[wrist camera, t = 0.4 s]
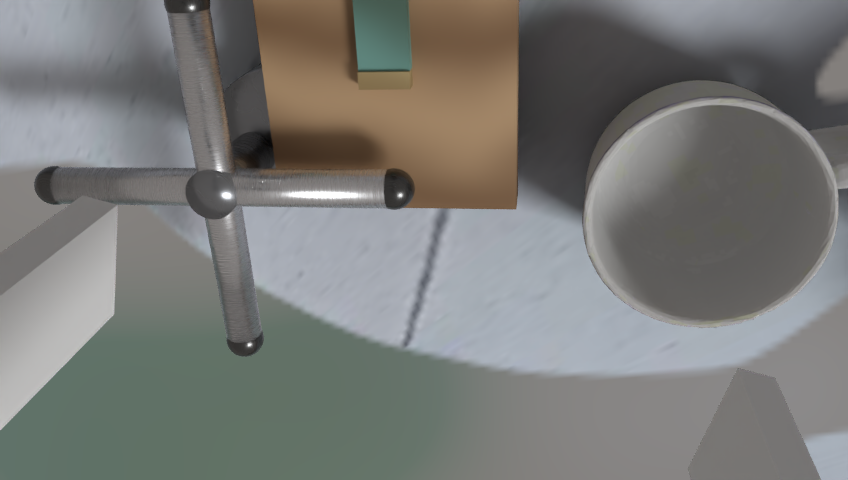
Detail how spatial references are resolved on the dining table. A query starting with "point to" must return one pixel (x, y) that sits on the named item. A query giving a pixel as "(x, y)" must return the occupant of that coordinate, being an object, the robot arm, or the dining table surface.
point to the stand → (397, 92)
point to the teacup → (711, 203)
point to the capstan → (226, 171)
